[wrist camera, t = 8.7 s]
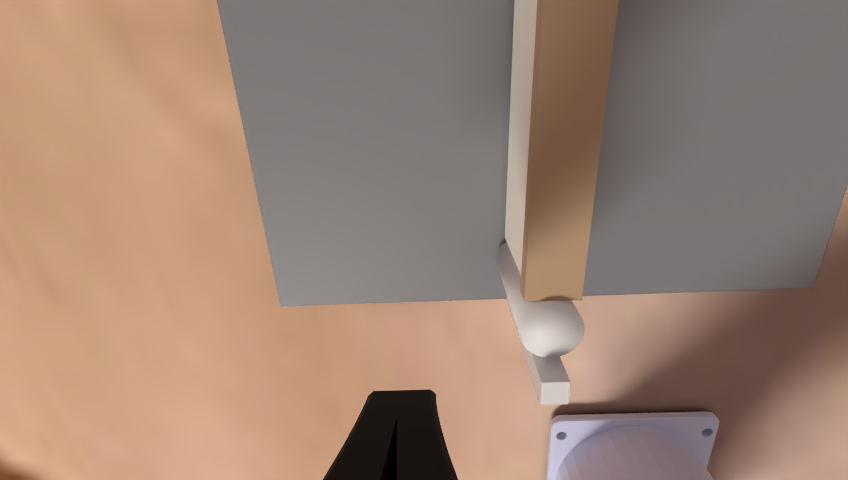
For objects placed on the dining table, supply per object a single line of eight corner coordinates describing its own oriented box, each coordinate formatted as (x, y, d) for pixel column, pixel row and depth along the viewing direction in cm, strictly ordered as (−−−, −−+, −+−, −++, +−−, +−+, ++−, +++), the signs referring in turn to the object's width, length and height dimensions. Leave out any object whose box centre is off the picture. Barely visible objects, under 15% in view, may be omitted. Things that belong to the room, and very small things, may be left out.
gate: (540, 277, 17) (580, 357, 12) (495, 278, 17) (518, 357, 12) (573, -148, 12) (663, -283, 7) (509, -144, 12) (558, -276, 7)
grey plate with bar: (797, 278, 18) (992, 393, 12) (286, 296, 19) (213, 413, 13) (958, -227, 12) (1544, -553, 6) (193, -167, 13) (-40, -392, 6)
